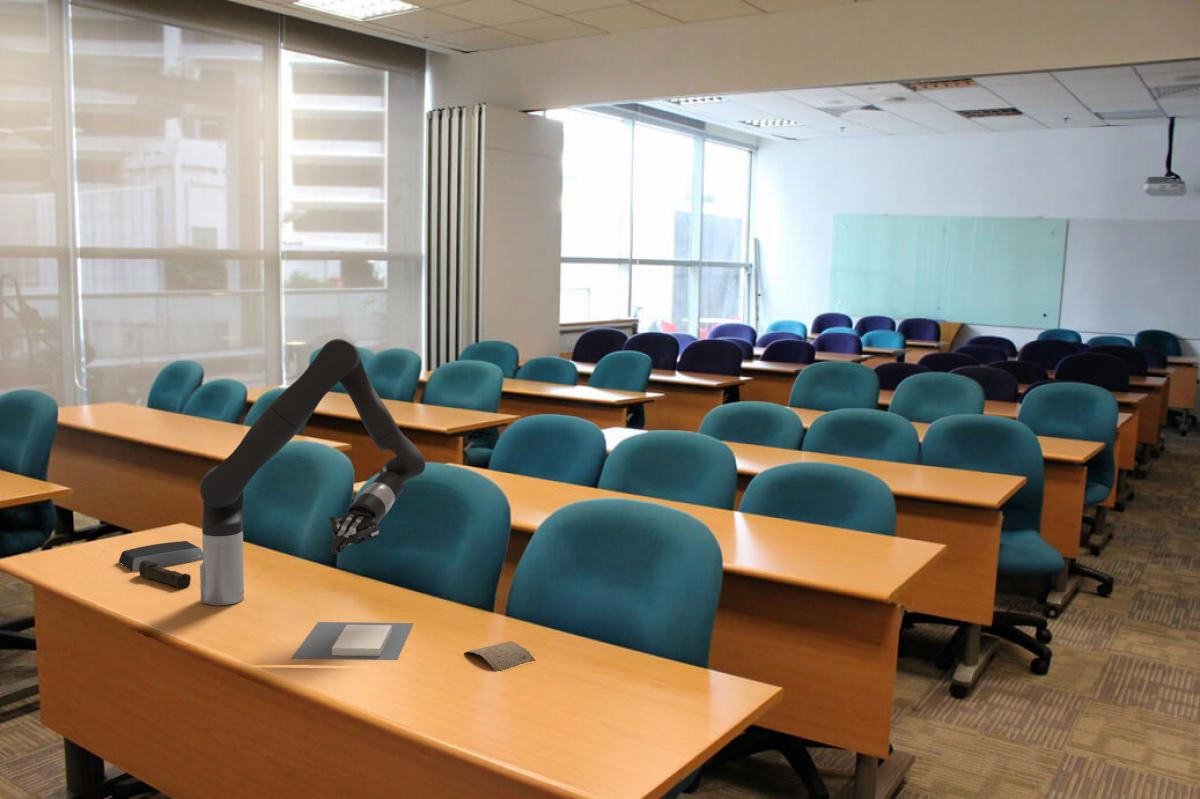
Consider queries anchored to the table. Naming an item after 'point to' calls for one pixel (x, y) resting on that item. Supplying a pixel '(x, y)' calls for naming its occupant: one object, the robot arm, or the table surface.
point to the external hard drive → (161, 554)
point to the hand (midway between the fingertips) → (334, 550)
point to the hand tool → (163, 575)
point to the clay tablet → (504, 655)
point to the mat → (329, 632)
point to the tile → (362, 640)
